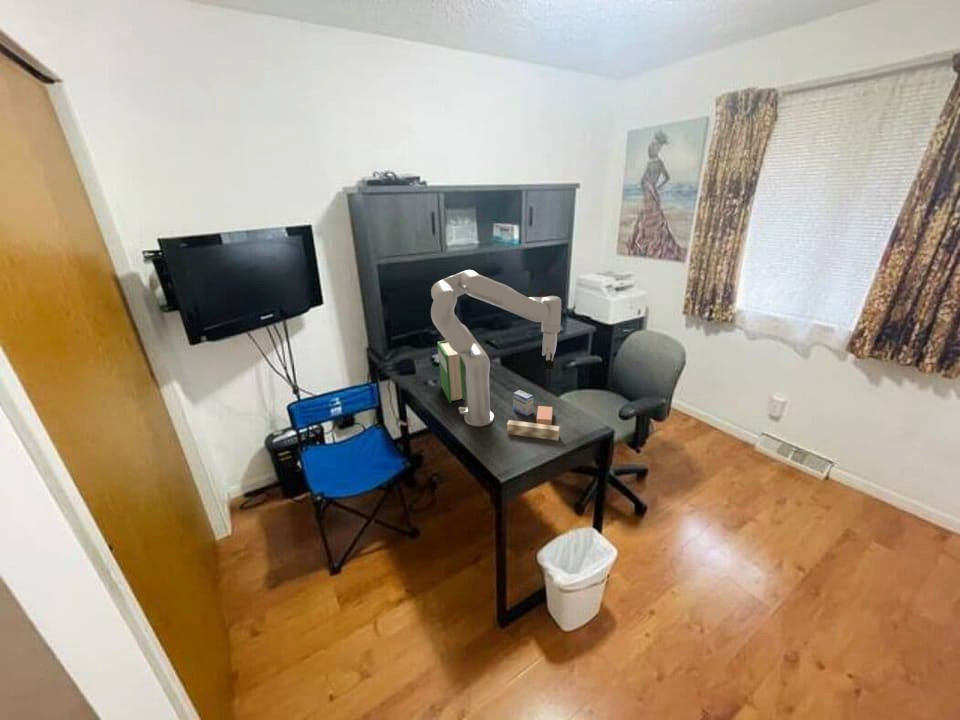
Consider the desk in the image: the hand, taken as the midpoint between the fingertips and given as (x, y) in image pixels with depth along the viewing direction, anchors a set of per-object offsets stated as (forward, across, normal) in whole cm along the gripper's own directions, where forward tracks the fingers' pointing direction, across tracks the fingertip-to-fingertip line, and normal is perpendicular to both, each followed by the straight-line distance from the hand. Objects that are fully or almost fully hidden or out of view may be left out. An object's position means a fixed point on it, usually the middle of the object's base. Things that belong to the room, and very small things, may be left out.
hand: (549, 368), depth 162 cm
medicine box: (+19, +6, -10) cm, 22 cm away
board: (+19, +23, -3) cm, 30 cm away
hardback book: (+19, -3, -46) cm, 50 cm away
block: (+19, +11, 0) cm, 22 cm away
